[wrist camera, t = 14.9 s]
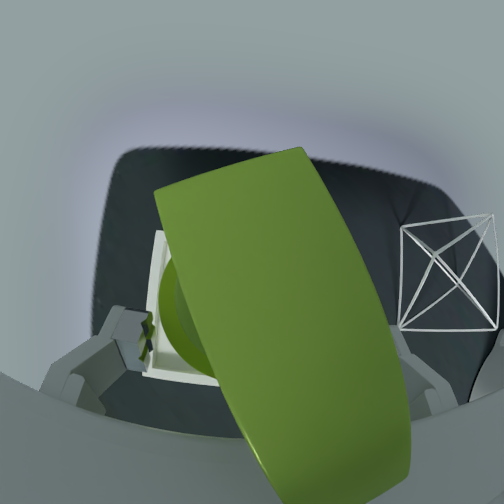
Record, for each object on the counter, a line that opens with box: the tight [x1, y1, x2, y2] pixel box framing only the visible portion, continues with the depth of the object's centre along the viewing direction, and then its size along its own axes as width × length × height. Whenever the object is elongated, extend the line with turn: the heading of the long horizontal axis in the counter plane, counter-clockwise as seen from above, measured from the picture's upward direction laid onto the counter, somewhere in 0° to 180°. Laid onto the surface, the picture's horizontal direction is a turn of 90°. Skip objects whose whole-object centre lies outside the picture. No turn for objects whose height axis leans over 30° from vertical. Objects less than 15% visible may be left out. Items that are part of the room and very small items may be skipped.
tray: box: [142, 230, 219, 386], centre depth 22 cm, size 15×12×2 cm
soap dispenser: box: [154, 147, 411, 504], centre depth 12 cm, size 6×7×20 cm
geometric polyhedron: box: [397, 213, 500, 332], centre depth 21 cm, size 12×11×9 cm
